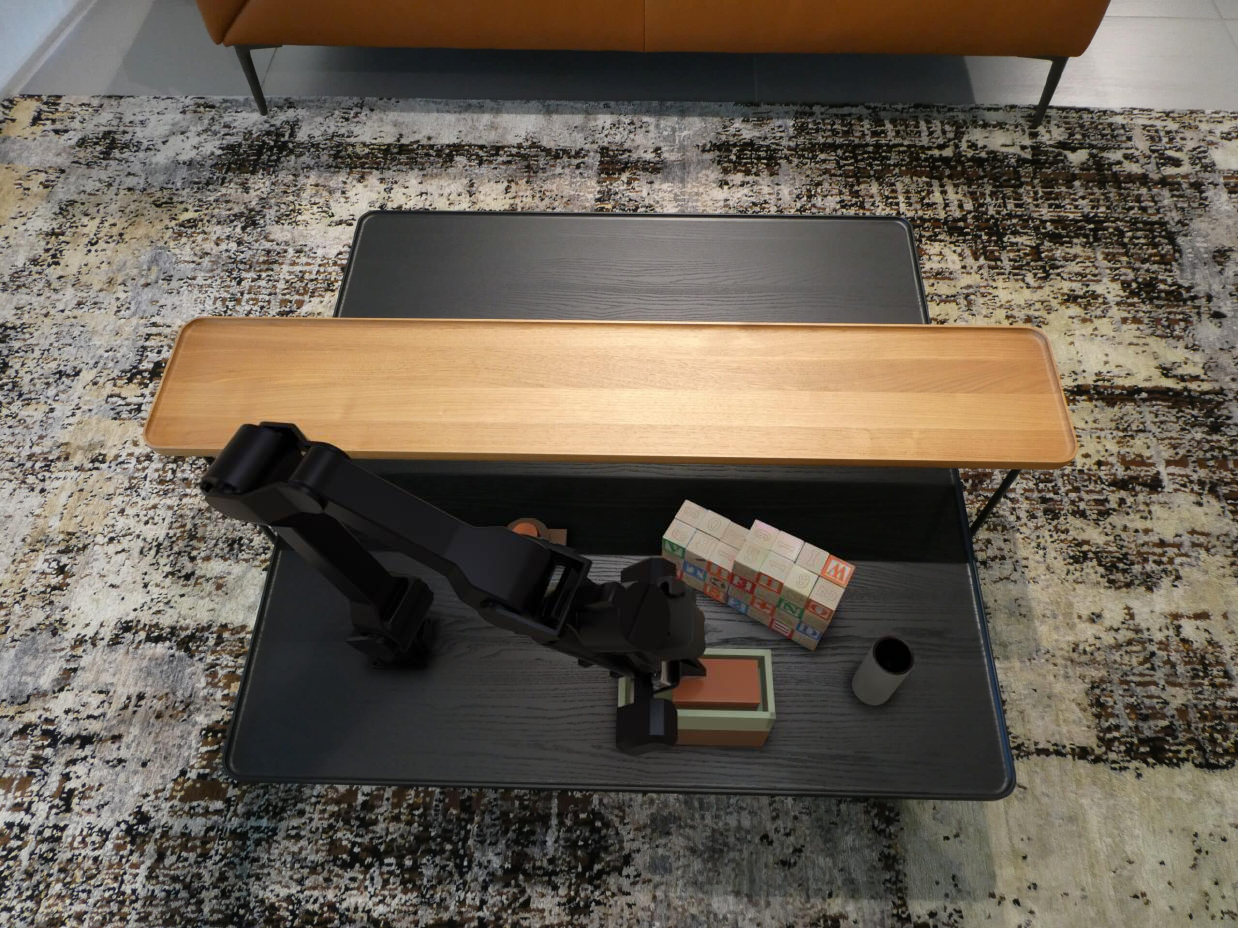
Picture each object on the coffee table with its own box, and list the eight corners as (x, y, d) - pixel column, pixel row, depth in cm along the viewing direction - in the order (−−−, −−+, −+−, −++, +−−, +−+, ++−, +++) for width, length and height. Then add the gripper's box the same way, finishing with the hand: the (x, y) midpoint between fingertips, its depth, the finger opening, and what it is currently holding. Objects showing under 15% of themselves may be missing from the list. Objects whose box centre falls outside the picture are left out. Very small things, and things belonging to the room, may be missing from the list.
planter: (849, 667, 100) (869, 634, 91) (887, 668, 100) (911, 635, 91) (854, 705, 97) (875, 674, 89) (893, 706, 97) (918, 675, 89)
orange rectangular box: (672, 700, 87) (760, 702, 86) (672, 657, 89) (757, 659, 89) (671, 714, 91) (755, 716, 90) (671, 672, 93) (752, 674, 93)
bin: (619, 742, 95) (617, 714, 87) (621, 679, 100) (619, 646, 91) (762, 746, 95) (775, 718, 86) (758, 682, 99) (770, 649, 90)
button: (512, 551, 107) (510, 544, 105) (514, 529, 109) (513, 522, 107) (537, 551, 107) (536, 545, 105) (539, 529, 109) (538, 522, 107)
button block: (486, 568, 108) (483, 559, 106) (492, 526, 111) (489, 517, 109) (564, 569, 108) (563, 560, 106) (567, 527, 111) (566, 518, 109)
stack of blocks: (659, 571, 107) (662, 523, 97) (682, 534, 110) (687, 484, 100) (814, 652, 101) (835, 610, 91) (835, 610, 104) (857, 565, 94)
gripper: (654, 713, 68) (773, 753, 76) (655, 512, 78) (760, 568, 87) (563, 738, 74) (682, 772, 83) (575, 550, 85) (680, 598, 94)
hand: (703, 673), depth 87 cm, fingers closed
